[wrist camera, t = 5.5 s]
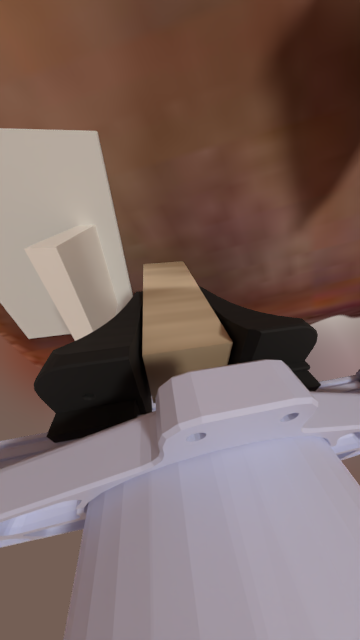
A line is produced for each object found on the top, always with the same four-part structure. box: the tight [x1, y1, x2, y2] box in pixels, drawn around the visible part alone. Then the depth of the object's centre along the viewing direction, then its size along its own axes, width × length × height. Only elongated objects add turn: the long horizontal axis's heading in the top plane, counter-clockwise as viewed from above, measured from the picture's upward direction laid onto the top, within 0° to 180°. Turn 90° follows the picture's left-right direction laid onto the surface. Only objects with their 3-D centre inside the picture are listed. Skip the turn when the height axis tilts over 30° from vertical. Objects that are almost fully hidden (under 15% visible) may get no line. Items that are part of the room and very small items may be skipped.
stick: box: [142, 261, 233, 403], centre depth 10 cm, size 3×3×9 cm
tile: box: [24, 225, 118, 341], centre depth 13 cm, size 8×2×8 cm, turn 2°
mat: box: [0, 128, 133, 339], centre depth 16 cm, size 17×13×1 cm
